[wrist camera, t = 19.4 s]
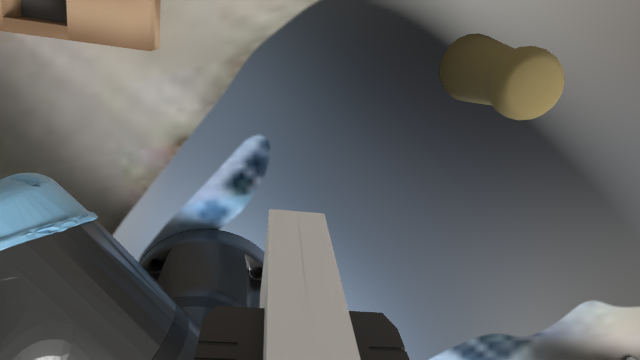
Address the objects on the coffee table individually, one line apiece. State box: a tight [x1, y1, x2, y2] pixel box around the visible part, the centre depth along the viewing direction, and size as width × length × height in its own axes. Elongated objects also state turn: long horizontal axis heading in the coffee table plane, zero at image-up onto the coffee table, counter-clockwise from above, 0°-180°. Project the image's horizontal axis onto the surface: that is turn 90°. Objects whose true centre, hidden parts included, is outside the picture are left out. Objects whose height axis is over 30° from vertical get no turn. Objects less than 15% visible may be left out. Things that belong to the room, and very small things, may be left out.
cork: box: [440, 34, 564, 120], centre depth 36 cm, size 6×6×11 cm
